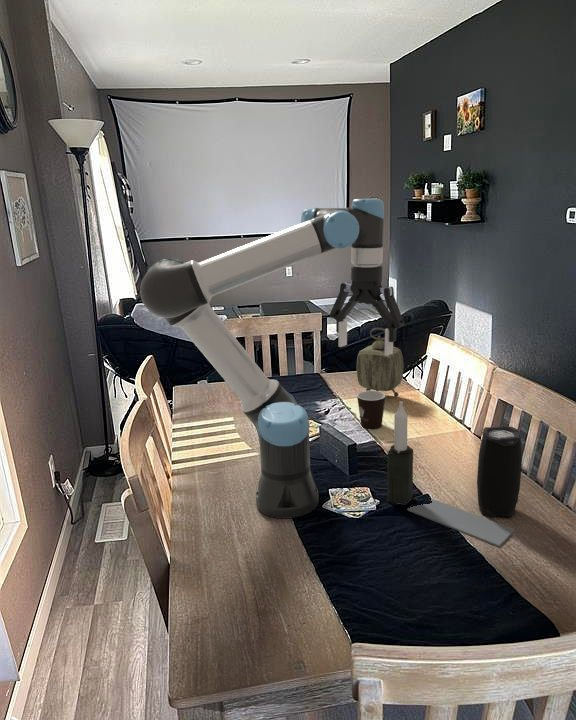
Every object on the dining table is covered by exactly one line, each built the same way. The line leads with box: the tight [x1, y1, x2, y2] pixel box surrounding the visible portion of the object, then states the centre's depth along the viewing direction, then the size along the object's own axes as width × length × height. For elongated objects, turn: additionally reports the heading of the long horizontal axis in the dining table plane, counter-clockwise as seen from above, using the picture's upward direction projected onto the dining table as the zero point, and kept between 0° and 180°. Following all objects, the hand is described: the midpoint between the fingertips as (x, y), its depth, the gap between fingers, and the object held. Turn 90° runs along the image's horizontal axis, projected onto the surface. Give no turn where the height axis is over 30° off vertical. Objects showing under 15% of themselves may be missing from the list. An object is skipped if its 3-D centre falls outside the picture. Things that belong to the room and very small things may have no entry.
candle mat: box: [407, 498, 516, 548], centre depth 130 cm, size 8×22×1 cm, turn 46°
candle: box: [387, 400, 414, 504], centre depth 136 cm, size 5×5×25 cm
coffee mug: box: [356, 390, 386, 431], centre depth 183 cm, size 12×9×10 cm
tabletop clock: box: [356, 327, 404, 397], centre depth 204 cm, size 14×9×25 cm, turn 58°
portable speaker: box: [476, 425, 523, 519], centre depth 131 cm, size 9×9×20 cm
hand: (365, 350), depth 147 cm, fingers open, 13 cm apart
